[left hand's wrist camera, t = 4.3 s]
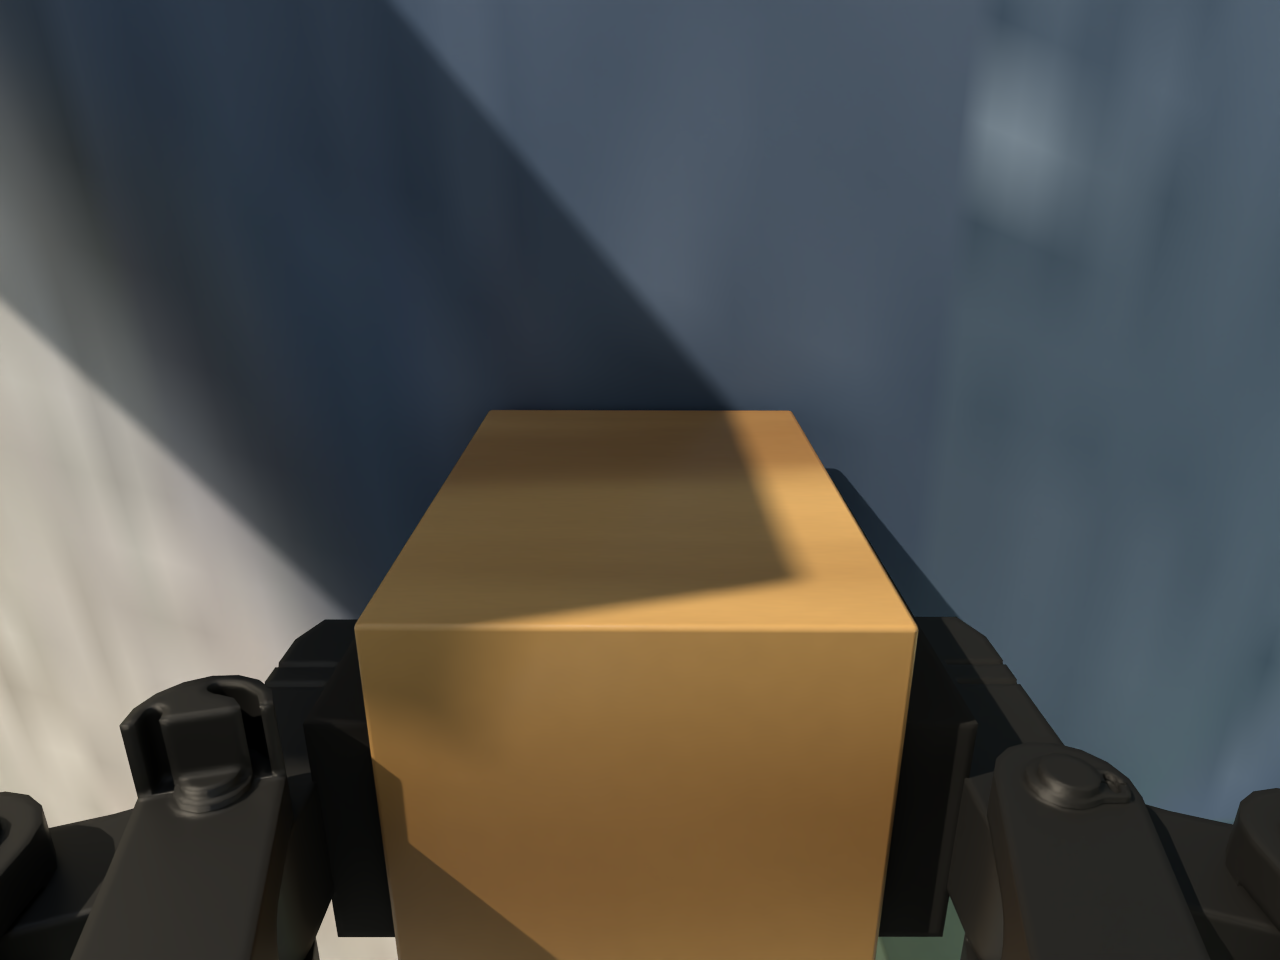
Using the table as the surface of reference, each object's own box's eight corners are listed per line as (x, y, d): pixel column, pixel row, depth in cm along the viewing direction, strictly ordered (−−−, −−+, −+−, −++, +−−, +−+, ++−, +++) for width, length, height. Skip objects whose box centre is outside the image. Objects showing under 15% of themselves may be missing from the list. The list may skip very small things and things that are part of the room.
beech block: (488, 408, 14) (350, 625, 7) (792, 409, 14) (921, 627, 7) (504, 669, 16) (405, 1030, 9) (775, 670, 16) (867, 1033, 9)
